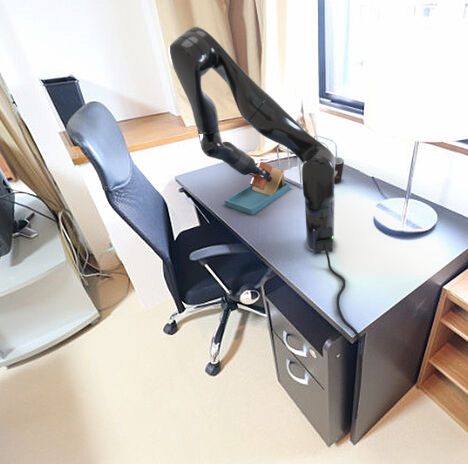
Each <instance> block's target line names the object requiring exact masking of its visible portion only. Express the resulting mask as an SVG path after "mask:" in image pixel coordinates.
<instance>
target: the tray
mask: <svg viewBox="0 0 468 464" xmlns="http://www.w3.org/2000/svg"><path fill="white" fill-rule="evenodd" d="M284 184H285V186H284V187H282V188H281V189H280V188H277V191H276V192H275V193H273V194H272V195H270V196H269V195H266V194H262V193H259V192H256V191H252V190H251V189H252V187H253V186H251V185H250V184H249V185H248V186H246V187H245V188H243V189H242V190H240V191H238V192H236V193H234V194H233V195H231V196H230V197H227V198H226V199H224V205H225V207H228V208H231V209H234V210H236V211H238V212H239V211H240V212H242V213H244V214H248V215H251V216H253V215H255V214H256V213H258V212H259V211H260V210H262V209H263V208H264V207H266V206H269V204H271V203H272V202H273V201H275V200H277V199H278V198H280V197H281V196H282V195H284V194H285V193H287V192H288V191H290V190H291V183H290V182H289V183H288V182H285V181H284Z"/></svg>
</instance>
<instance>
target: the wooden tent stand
mask: <svg viewBox="0 0 468 464" xmlns="http://www.w3.org/2000/svg"><path fill="white" fill-rule="evenodd" d="M284 171H285V170H284V169H281V168H280V169H279V168H276V167H272V171H271V173H270V174H271V175H270V176H271V177H272V179H271V181H270V182H268V181H267V183H266V186H265V188H264V190H261V189H258V188H255V187H252V189H251V190H252V191H256V192H259V193H262V194H266V195H269V196H270V195H272V194H273V193H275V192H276V191H277V188H280V189H281V188H282V187H284V186H285V184H284V182H285V180H284Z"/></svg>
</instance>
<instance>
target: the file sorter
mask: <svg viewBox="0 0 468 464" xmlns="http://www.w3.org/2000/svg"><path fill="white" fill-rule="evenodd" d="M316 137H318V138H321V139H323V140H327V141H331V142H333V143H334V145H335V157H338V144H337V142H336V141H335V140H334V139H331V138H328V137H325V136H322V135H318V134H316V135H314V136H313V138H315V139H316ZM316 140H317V141H318V142H320V143H321V144H322V145H324V146H325V147H326V148H328V149H329V150H330V147H329V146H330V145H329V144H327V143H326V142H323V141H321V140H318V139H316ZM279 149H281V150H283V151H285V152H287V164H288V168H287V169H285V170H283V171H284V181H287V183H288V182H289V184H292V185H295V186H297V187H298V188H303V182H302V167H303V163H301V160H300V159H299V158H298V157H297V156H296V159H297V160H296V161H297V165H295V166H292V167H291V164H290V153H291V154H293V155H295V154H294V153H293V152H292V151H291V150H290V149H288V148H287V147H284V146H278V147H277V148H276V156H277V165H278V169H280V170H281V164H280V163H281V162H280V155H279Z"/></svg>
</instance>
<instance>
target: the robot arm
mask: <svg viewBox="0 0 468 464" xmlns="http://www.w3.org/2000/svg"><path fill="white" fill-rule="evenodd" d="M168 56H169V60H170V63H171V65H172V68H173V70H174V72H175V74H176V77H177V79H178V81H179V84H180V86H181V88H182V90H183V92H184V94H185V96H186V98H187V100H188V103H189V105H190V108H191V112H192V115H193V120H194V124H195V127H196V130H197V135H198V139H199V144H200V149H201V151H202V153H203V154H205V156H206V157H209V158H212V159H216V160H220V161H222V162H224V163H225V164H227V165H228V166H229V167H230V168H231V169H233V170H235V171H236V172H238V173H239V174H241V175H242V176H247V175H249V176H253V175H255V176H257V177H259V178H261V177H262V178H264V179H265V180H267V181H268V182H270V181H271V179H272V177H271V176H270V175H271V174H270V173H269V172H268V171H267V170H265V169H261V168H259V167H258V166H257V164H256V160H255V159H254V158H253V157H251V156H250V155H249V154H248V153H246V152H245V151H244V150H242V149H240V148H239V147H237V145H235V144H233V143H232V142H230V141H223V140H222V136H221V132H220V127H219V126H220V122H219V115H218V109H217V106H216V103H215V102H214V100H213V99H212V98H211V97H210V96H209V95H208V94H207V93H205V92H204V90H203V88H202V77H203V76H205V75H206V74H207V73H208V72H209V71H210V70H211V69H212V70H213V71H214V72H215V73H216V74H217V75H218V76H219V77H220V78H221V79H222V80H223V81H224V83H226V85H227V86H228V88H229V90H230V92H231V95H232V97H233V100H234V102H235V106H236V109H237V110H238V112H239V114H240V116H241V117H242V118H243V120H244V121H245V122H247V123H248V124H249V125H250V126H251V127H252V128H253V129H254V130H256V132H257V133H259V134H260V135H262V136H263V137H265V138H267V139H268V140H271V142H272V141H273V142H275V143H277V144H279V145H281V146H282V147H284V148H286V149H287V148H288V149H289V150H290V151H292V152H293V153H294V154H293V153H292V154H293V155H295V156H296V158H297V157H298V158H299V159H300V162H302V164H303V167H302V182H303V187H302V193H303V198H304V211H305V212H304V213H305V231H306V248H307V249H308V251H310V252H312V253H313V254H314V255H320V254H325V256H326V259H327V266H328V269H329V271H330V272H331V273H332V274H333V275H334V276H336V277H338V278H339V279H341V281H342V286H341V288H340V290H339V292H337V293H338V294H337V295H336V310H337V312H338V316H339V317H340V319H341V321H342V322H343V324H344V326H346V327H347V328H348V329H350V330H351V331H352V332H353V333H354V335H355V336H356V339H357V341H358V343H360V344H362V343H363V342H362V338H361V335H360V333H359V332H358V331H357V330H356V328H355V327H353V326H352V325H351V324H350V323H349V322H348V321H347V320H346V319H345V317H344V316H343V312H342V310H341V307H340V298H341V295H342V293H343V292H344V290H345V289H346V283H347V282H346V279H345V278H344V277H343V275H340V273H337V272H336V271H335V270H334V269H333V268H332V265H331V259H330V258H331V257H330V255H329V253H332V252H333V250H334V247H335V203H336V202H335V200H336V199H335V197H336V195H335V184H334V172H335V163H336V162H335V158H334V157H335V156H334V153H333V152H332V151H331V150H330V148H329V149H328V148H327V146H326V145H325V144H322V143H320V142H318V141H319V140H318V139H316V137H315V138H314V136H312V135H311V134H310V133H308V132H307V131H306V130H305V129H304V128H303V127H302V125H300V124H299V123H298V122H297V120H295V119H294V118H293V117H292V116H291V114H289V113H288V112H287V111H286V110H285V109H284V108H283V107H282V106H281V105H280V104H279V102H277V101H276V100H275V99H274V98H273V97H271V96H270V94H268V93H267V92H266V91H265V90H264V89H263V88H262V87H261V86H259V85H258V84H257V83H256V81H254V80H253V78H252V77H250V76H249V74H247V73H246V72H245V71H244V69H242V67H240V65H239V64H238V63H237V62H236V61H235V59H233V57H231V55H230V54H229V53H228V52H227V50H225V49H224V47H223V46H222V45H221V44H220V43H219V41H217V40H216V38H214V37H213V36H212V35H211V34H210V33H209V32H208V31H207V30H205V29H204V28H202V27H199V26H192V27H190V28H188V29H187V30H186V31H184V32H183V33H182V34H181V35H179V36H178V37H177V38H176V39H174V41H172V43H171V44H170V45H169V47H168ZM317 140H318V141H317ZM259 172H260V174H259ZM258 174H259V175H258ZM362 373H363V354H358V380H357V381H358V382H357V393H356V400H355V401H356V402H355V409H354V419H355V420H357V419H358V414H359V413H358V412H359V403H360V396H361V389H362V377H363V376H362V375H363V374H362Z"/></svg>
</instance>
